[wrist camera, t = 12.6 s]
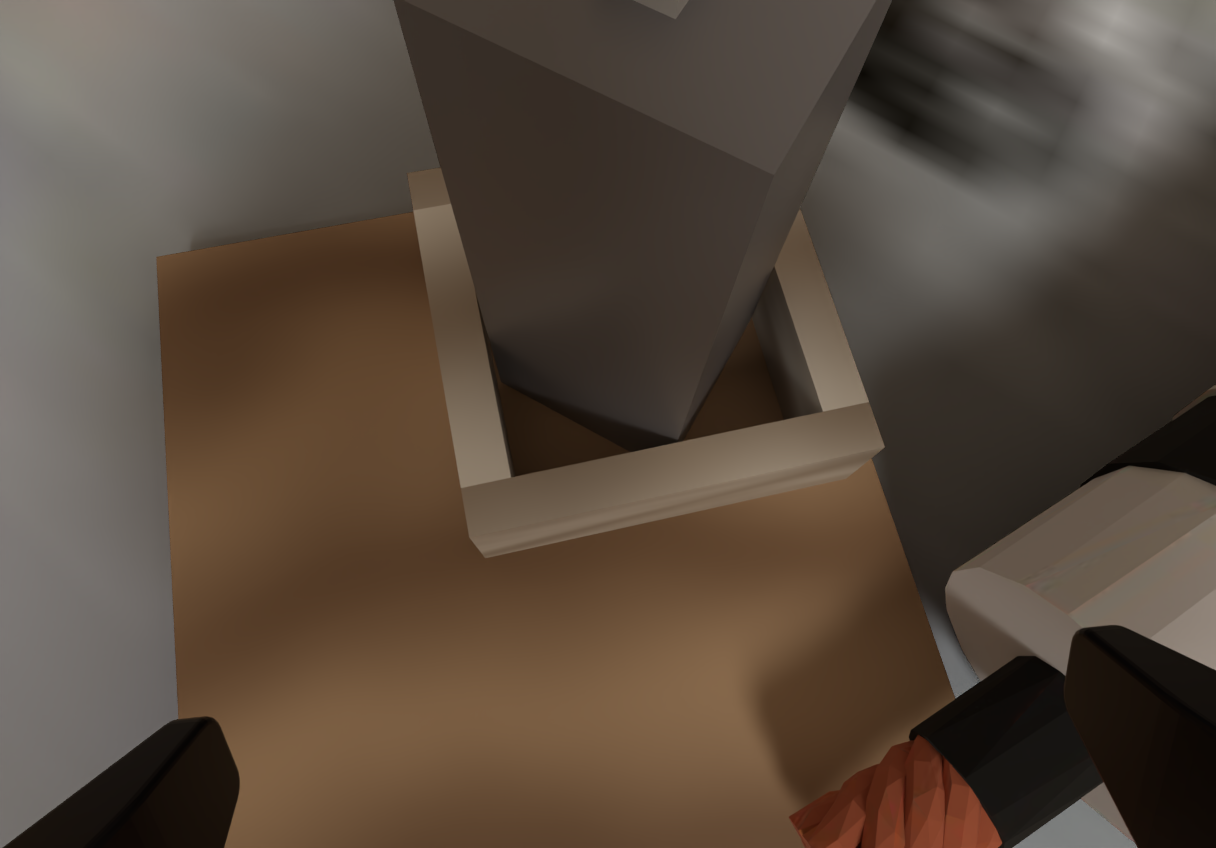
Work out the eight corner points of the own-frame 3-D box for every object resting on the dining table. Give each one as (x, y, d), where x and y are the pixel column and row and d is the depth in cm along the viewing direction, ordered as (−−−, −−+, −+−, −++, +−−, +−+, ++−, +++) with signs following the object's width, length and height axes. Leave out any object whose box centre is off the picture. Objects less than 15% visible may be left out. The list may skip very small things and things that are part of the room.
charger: (666, 471, 18) (789, 133, 7) (501, 382, 19) (377, -57, 8) (750, 320, 19) (963, -163, 8) (593, 241, 20) (601, -306, 9)
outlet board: (1020, 975, 16) (1151, 1062, 12) (241, 1201, 15) (121, 1378, 11) (753, 183, 22) (786, 81, 19) (185, 286, 21) (96, 197, 17)
